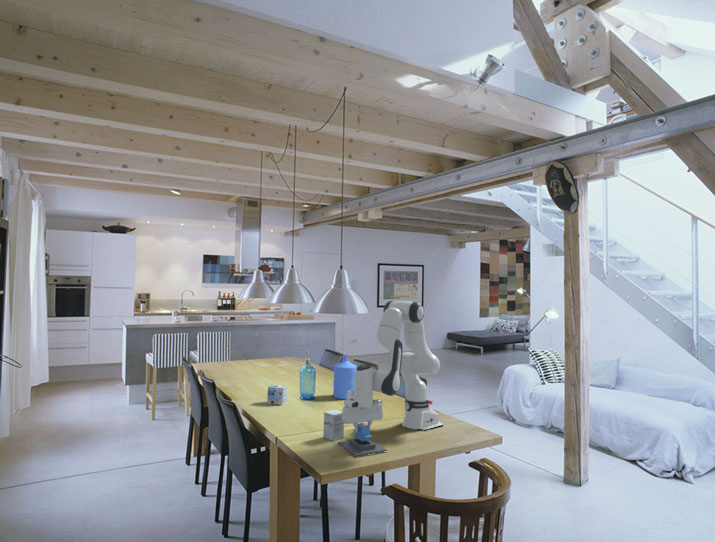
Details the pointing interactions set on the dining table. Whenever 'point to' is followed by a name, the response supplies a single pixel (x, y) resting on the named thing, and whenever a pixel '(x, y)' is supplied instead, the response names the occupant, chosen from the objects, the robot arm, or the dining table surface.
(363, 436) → the servo block
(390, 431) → the dining table surface
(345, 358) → the water jug
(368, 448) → the plate
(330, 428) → the supplement box
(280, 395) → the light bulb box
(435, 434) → the dining table surface
